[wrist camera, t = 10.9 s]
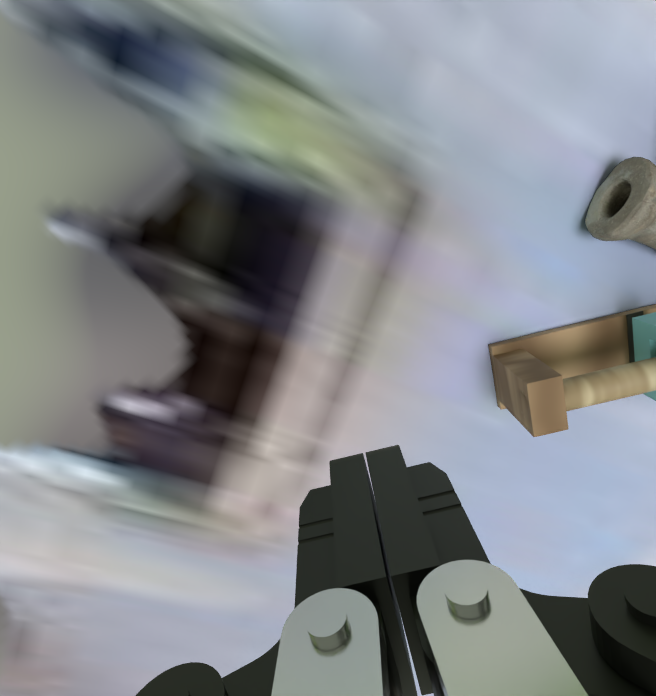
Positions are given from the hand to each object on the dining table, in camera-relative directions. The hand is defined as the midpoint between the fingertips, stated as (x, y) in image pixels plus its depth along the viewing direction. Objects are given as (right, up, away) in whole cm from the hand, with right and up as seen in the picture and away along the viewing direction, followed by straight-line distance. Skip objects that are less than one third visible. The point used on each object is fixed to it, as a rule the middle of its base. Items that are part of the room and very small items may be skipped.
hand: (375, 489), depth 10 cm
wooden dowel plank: (+22, +3, +32) cm, 39 cm away
